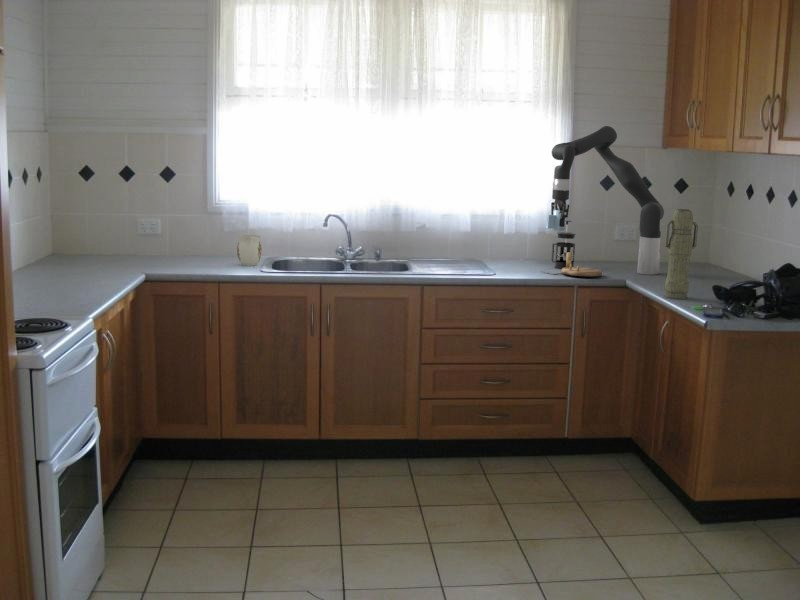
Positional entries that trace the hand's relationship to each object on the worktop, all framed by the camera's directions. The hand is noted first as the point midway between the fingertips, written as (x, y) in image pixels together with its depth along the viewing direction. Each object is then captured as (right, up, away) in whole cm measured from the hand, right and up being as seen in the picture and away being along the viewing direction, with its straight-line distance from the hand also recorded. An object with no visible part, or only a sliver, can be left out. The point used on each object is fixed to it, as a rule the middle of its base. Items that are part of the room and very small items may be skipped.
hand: (558, 225), depth 400 cm
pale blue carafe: (-2, -2, 0) cm, 3 cm away
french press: (+6, -19, +20) cm, 28 cm away
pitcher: (-142, -18, 0) cm, 143 cm away
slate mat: (-1, -21, +4) cm, 22 cm away
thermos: (+37, -33, -52) cm, 72 cm away
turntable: (+10, -22, -2) cm, 24 cm away
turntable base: (+10, -23, -2) cm, 25 cm away
